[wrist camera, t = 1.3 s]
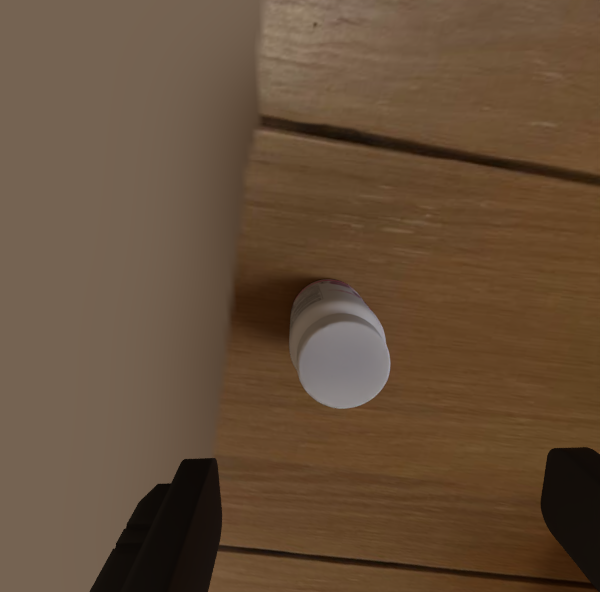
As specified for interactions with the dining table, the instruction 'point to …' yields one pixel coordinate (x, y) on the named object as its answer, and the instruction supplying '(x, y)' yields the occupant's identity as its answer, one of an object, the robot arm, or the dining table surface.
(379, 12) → the dining table surface
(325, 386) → the pill bottle
